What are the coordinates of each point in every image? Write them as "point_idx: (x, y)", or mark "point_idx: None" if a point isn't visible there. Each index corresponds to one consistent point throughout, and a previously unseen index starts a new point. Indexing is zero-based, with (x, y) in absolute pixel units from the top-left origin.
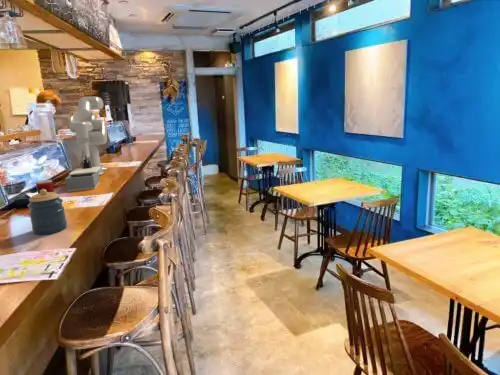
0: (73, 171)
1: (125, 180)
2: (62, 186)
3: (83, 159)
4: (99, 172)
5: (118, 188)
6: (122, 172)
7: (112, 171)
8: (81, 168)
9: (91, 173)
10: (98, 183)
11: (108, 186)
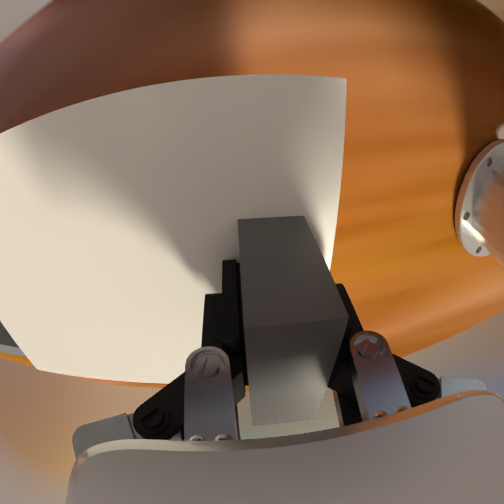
0: (22, 150)
1: None
2: (87, 11)
3: (80, 431)
4: (478, 240)
5: (30, 364)
6: (428, 336)
7: (494, 279)
8: (288, 193)
9: None
10: None
11: None
